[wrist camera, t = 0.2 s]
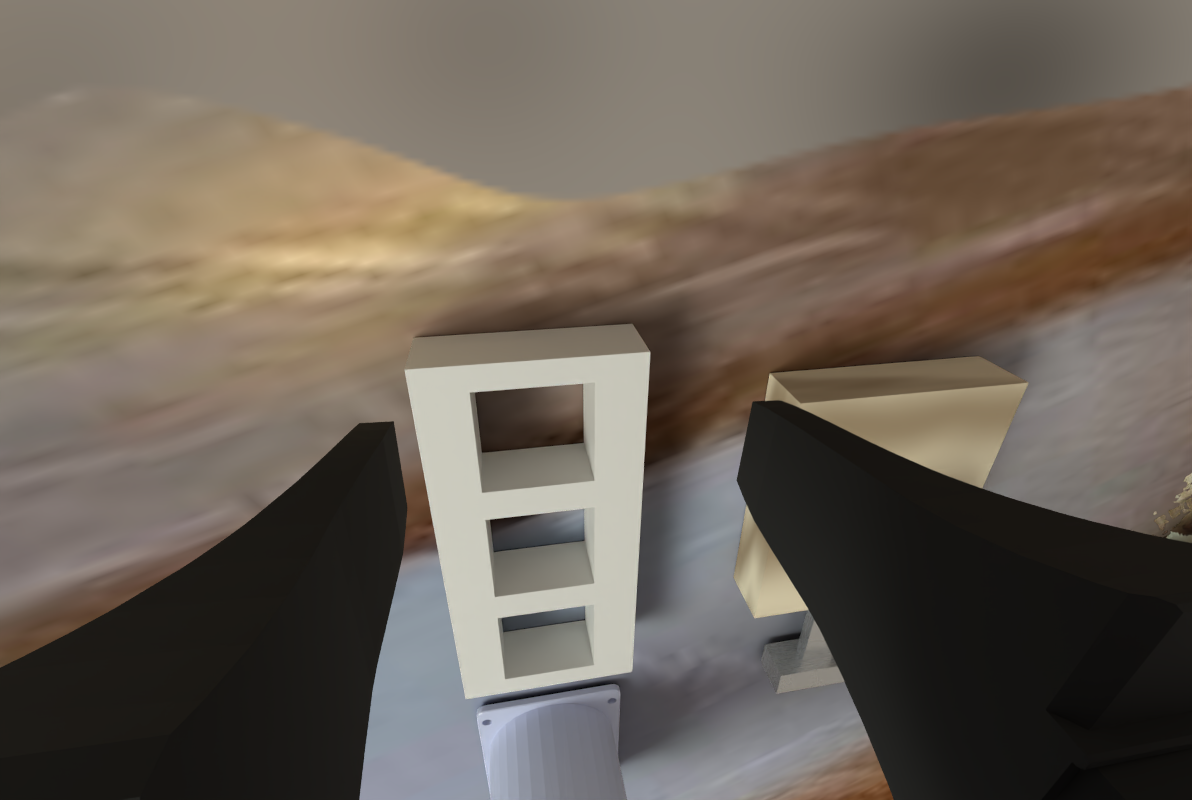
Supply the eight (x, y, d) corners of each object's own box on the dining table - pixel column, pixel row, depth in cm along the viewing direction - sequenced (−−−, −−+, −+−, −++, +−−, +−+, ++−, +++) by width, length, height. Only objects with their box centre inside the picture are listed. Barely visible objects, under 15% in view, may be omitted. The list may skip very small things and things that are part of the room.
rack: (620, 627, 29) (632, 671, 27) (467, 650, 28) (465, 699, 26) (632, 323, 21) (650, 352, 19) (413, 337, 20) (404, 369, 17)
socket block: (904, 553, 31) (937, 589, 28) (733, 577, 29) (754, 618, 27) (979, 355, 25) (1028, 382, 22) (769, 372, 23) (800, 403, 21)
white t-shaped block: (838, 648, 33) (857, 679, 32) (760, 661, 33) (776, 694, 31) (869, 557, 30) (893, 585, 28) (782, 569, 29) (801, 599, 27)
